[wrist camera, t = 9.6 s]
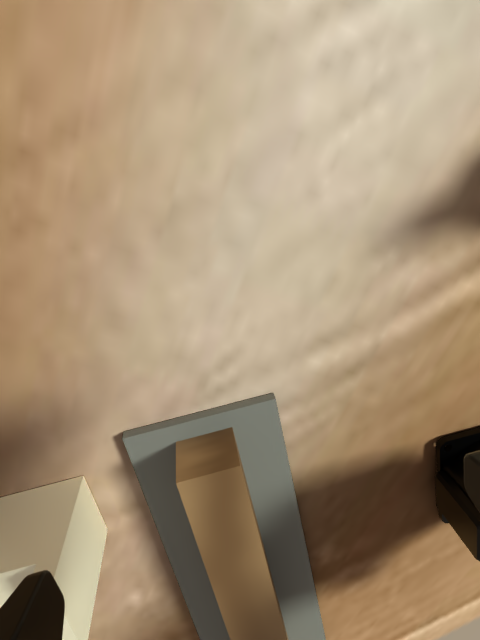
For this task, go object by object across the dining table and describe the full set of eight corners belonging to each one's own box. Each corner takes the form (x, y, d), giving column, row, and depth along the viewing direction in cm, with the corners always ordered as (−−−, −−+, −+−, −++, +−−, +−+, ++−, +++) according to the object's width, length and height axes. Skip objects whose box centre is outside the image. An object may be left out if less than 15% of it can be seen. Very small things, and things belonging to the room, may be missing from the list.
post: (83, 475, 23) (50, 590, 17) (107, 529, 24) (85, 652, 18) (-38, 507, 22) (-116, 637, 16) (-6, 560, 24) (-66, 696, 18)
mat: (273, 392, 23) (275, 398, 22) (330, 664, 32) (332, 673, 31) (123, 431, 22) (122, 438, 22) (225, 696, 31) (226, 705, 31)
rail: (232, 427, 22) (240, 465, 19) (298, 675, 31) (310, 727, 28) (175, 441, 22) (175, 483, 19) (257, 687, 30) (265, 740, 28)
